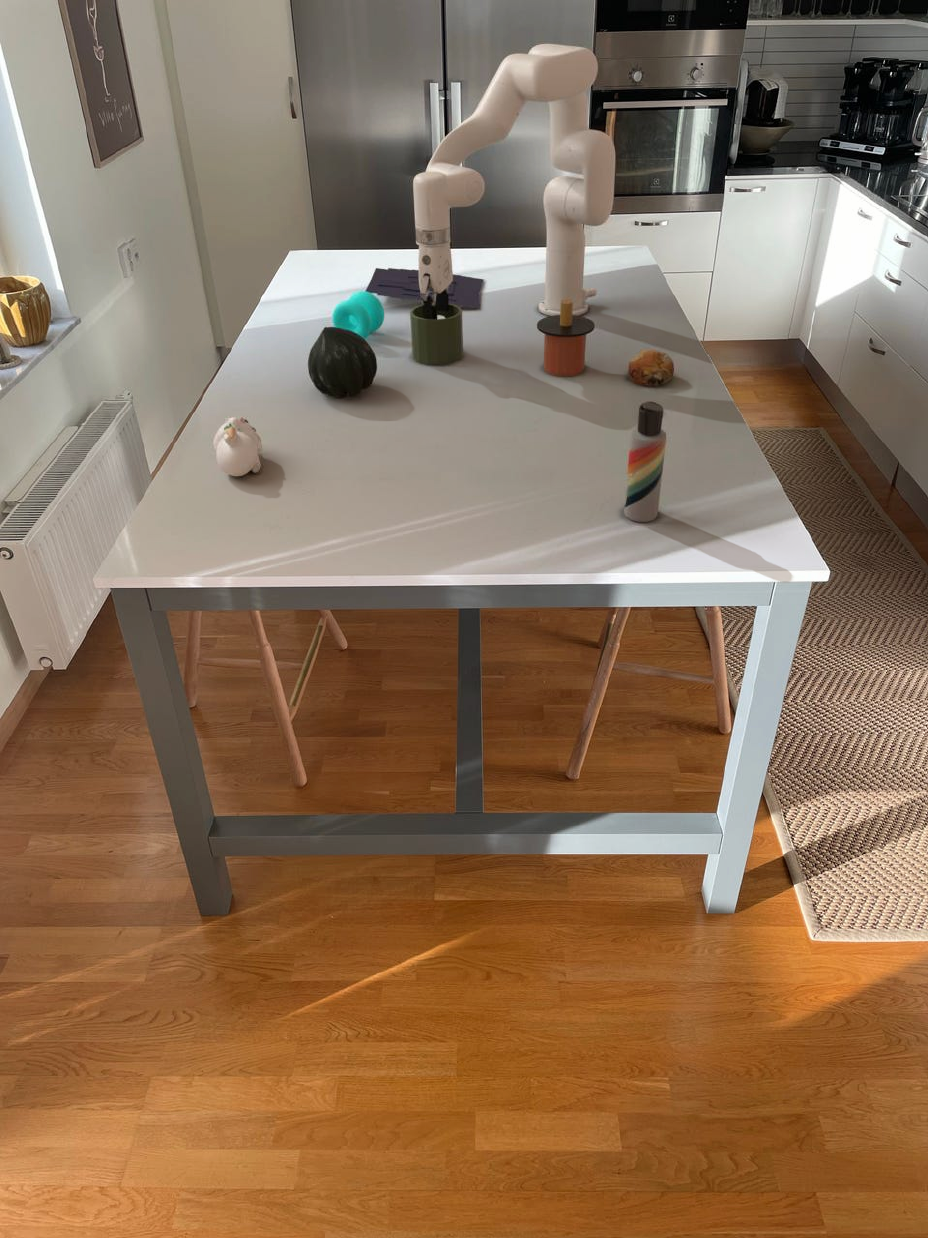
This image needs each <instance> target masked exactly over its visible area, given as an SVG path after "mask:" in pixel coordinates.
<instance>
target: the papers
mask: <svg viewBox="0 0 928 1238" xmlns="http://www.w3.org/2000/svg"><path fill="white" fill-rule="evenodd" d="M484 280H485V279H484V278H477V277H472V276H465V275H461V274H454V273H453V280H452V282H451V284H450V285H449V286H448V288H449V292H448V295H449V304H454V305H456V306H458V307H464V308H472V309H473V308H475V309H480V296H481V291H482V287H483V284H484ZM428 290H430V291H434V290H433V289H431V288H429V289H428ZM365 291H366V292H369V293H371V294H375V295H376V296H381V297H388V298H392V299H393V298H394V299H400V300H413V301H421V302H422V298H421V295H420V291H421V290H420V286H419V269H406V268H393V267H392V268H391V267H388V268H379V267H376V268H375V269H374V272H373V274H372V277H371V279H370V281H369V283H368V285H367V287H366V289H365ZM428 296H430V297H431V299H432V294H428Z"/></svg>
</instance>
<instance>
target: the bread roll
mask: <svg viewBox="0 0 928 1238" xmlns="http://www.w3.org/2000/svg"><path fill="white" fill-rule="evenodd" d="M673 361H674V360H673V359H672V357H671V356H669V354H667V353H666V352H663V351H661V350H659V349H655V348H654V349H641V350H640V351H639V352H638V353H637V354H635V355H634V356H633V357H632V358H631V359H630V360H629V363H628V378H629V381H630V382H631V383H633V384H635V385H638V386H642V387H659V386H664V385H666V384H667V383H669V382H670V381H671V380H672V379H673V378H674V374H675V364H674V362H673Z"/></svg>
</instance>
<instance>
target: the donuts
mask: <svg viewBox="0 0 928 1238" xmlns="http://www.w3.org/2000/svg"><path fill="white" fill-rule="evenodd" d="M384 320H385V309H384V307H383V304H382V302H381V300H380V299H379V298H378V297H377V295H376V294H375V295H374V293H369V292H366V290H359V291H355V292H354V293H353V294H351V295H350V296H349V298H348V299H347V300H343V301H340V302H339V303H338V304H337V305H336V306H335V307H334V309H333V312H332V324H333V327H337V328H342V329H346V330H350V331H353V332H355V333H357V334H359V335H360V336H361V337H362V338H363V339H365V340H366V339H367V338H368V337H369V335H370V334H371V333H374V332H376V331H377V330H379V329H380V328H381V326H382V325H383V323H384Z"/></svg>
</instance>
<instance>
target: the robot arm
mask: <svg viewBox="0 0 928 1238" xmlns="http://www.w3.org/2000/svg"><path fill="white" fill-rule="evenodd" d="M598 70H599V63H598V60H597V57H596V55H595V54H594V53H593V51H592V50H591V49H589V48H587V47H583V46H575V45H565V44H556V43H540V44H537V45H535V46H533V47H531V49H530V50H529V51H528V53H512V54H509V55H507V56H506V57H504V59H503V60H502V61H501V63H500V64H499V66H498V68H497V70H496V72H495V74H494V75H493V77H492V79H491V81H490V83H489V84H488V86H487V88H486V90H485V92H484V94H483V96H482V98H481V99H480V101H479V102H478V105H477V106H476V109H475V110H474V112H473V113H472V114H471V115H470V116H469V117H468V118H466V119H465V120H464V121H462V122H461V123H460V124H458V125H457V126H456V127H455V128H454V129H452V130H451V131H450V132H449V133H448V134H446V136H445V137H444V138H443V139H442V140H441V141H440V143H439V144H438V145H437V147H436V149H435V151H434V153H433V155H432V157H431V158H430V160H429V161H428V163H427V167H426V169H425V171H423V172H420V173H417V174H416V175H415V176H414V178H413V181H412V182H413V183H412V188H413V190H412V191H413V208H414V226H415V227H414V228H415V244H416V245H417V246H418V270H419V286H420V290H421V291H420V295H421V298H422V301H421V305H423V318H424V319H437V311H446V312H447V311H448V310H449V295H448V292H449V288H448V286H449V285H450V284H451V282H452V280H453V274H454V273H453V261H452V260H453V259H452V250H451V242H452V238H451V210H450V209H452V208H467V207H471V206H473V205H475V204H477V203H479V201H480V200H481V199H482V198H483V196H484V193H485V189H486V184H485V180H484V177H483V176H482V175H481V173H480V172H478V171H477V170H475V169H473V168H469V167H465V166H461V165H462V163H463V162H464V161H465V160H466V159H467V158H468V157H470V156H471V155H472V154H474V153H475V152H477V151H479V150H482V149H485V148H487V147H490V146H493V145H494V144H497V143H498V144H499V143H500V142H502V141H504V140H505V139H506V138H507V137H508V136H509V134H510V133H511V131H512V129H513V127H514V125H515V123H516V121H517V120H518V117H519V116H520V114H521V112H522V111H523V109H524V107H525V105H526V103H527V102H528V101H531V102H538V103H548V106H549V107H548V108H549V117H550V118H549V127H550V128H549V155H550V160H551V164H552V166H553V167H554V168H555V169H557V170H559V171H563V172H567V173H570V174H571V173H572V174H575V175H576V174H577V175H581V176H582V177H583V178H579V177H574V176H569V175H559V176H557V177H554V178H552V179H551V180H550V181H549V182H548V183H547V185H546V186H545V189H544V190H543V201H542V202H543V209H544V210H543V211H544V216H545V224H546V247H545V279H544V280H545V281H544V282H545V284H544V299H543V300H542V301H540V302H539V304H538V311H539V312H540V313H541V314H543V315H545V316H548V317H549V316H554V315H560V308H561V301H562V300H571V301H573V309H572V315H576V316H582V315H584V314H586V313H587V312H588V310H589V304H588V303H587V302H586V300H587V299H589V298H593V297H595V296H597V290H596V288H590V289H587V290H586V288H585V287H584V275H585V273H584V272H585V255H586V254H585V252H586V233H585V229H584V225H585V226H590V227H599V226H601V225H603V224H605V223H606V221H608V220H609V217H610V216H611V213H612V211H613V206H614V199H615V198H614V196H615V176H616V149H615V148H616V147H615V144H614V142H613V139H612V138H611V137H610V136H609V134H607V133H606V132H603V131H601V130H596V129H590V128H589V122H588V99H587V96H586V95H587V94H586V91H588V90H589V89H590V88H591V87H592V86H593V84H594V83H595V81H596V79H597V77H598V72H599V71H598ZM429 288H431V289H433V290H434V291H430V290H428V289H429ZM428 294H432V299H431V297H430V296H428Z"/></svg>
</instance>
